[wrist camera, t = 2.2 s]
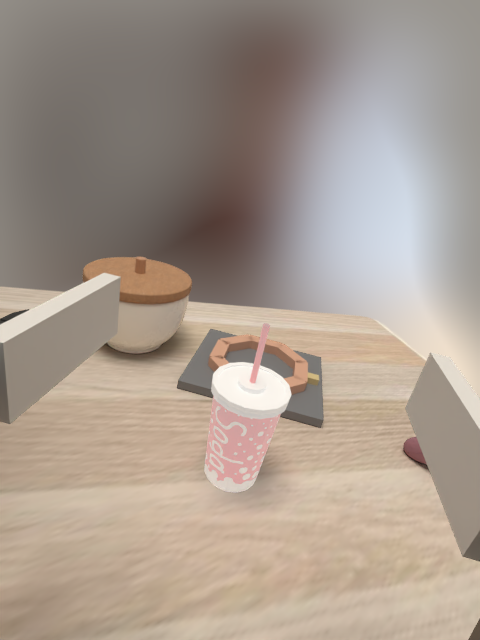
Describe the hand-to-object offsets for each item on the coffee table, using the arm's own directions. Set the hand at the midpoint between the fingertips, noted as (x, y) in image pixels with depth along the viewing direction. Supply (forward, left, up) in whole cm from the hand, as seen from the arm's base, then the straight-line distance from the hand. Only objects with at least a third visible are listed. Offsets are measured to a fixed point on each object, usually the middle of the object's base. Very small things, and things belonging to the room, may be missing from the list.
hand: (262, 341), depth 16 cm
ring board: (0, +26, -18) cm, 31 cm away
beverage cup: (0, +10, -18) cm, 20 cm away
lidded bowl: (-17, +26, -18) cm, 36 cm away
